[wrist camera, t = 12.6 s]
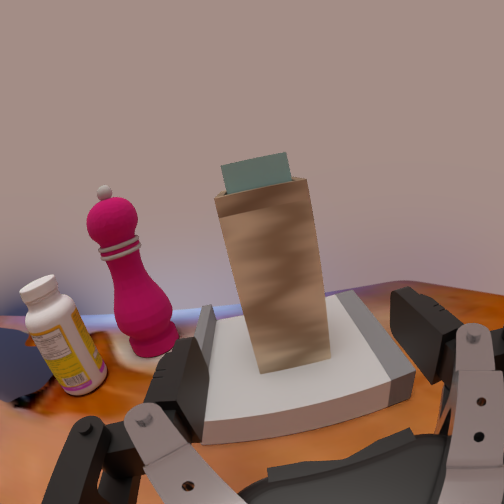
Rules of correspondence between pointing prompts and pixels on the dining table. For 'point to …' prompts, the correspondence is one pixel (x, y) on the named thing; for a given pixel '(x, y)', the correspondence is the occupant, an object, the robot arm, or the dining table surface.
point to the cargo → (256, 173)
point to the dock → (299, 377)
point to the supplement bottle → (62, 337)
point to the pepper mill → (131, 277)
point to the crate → (277, 273)
